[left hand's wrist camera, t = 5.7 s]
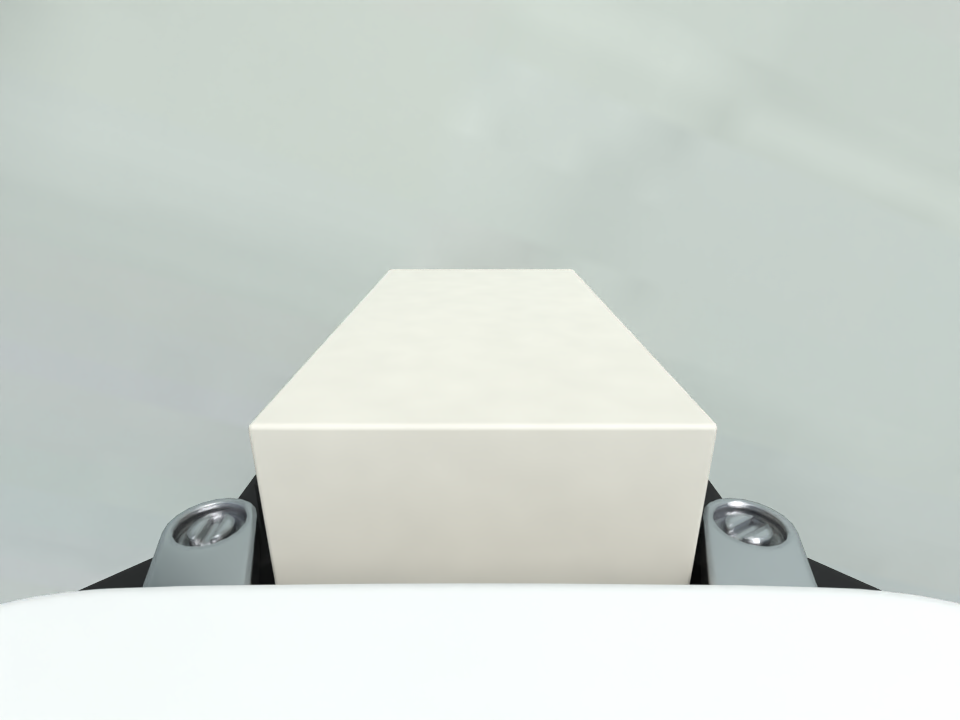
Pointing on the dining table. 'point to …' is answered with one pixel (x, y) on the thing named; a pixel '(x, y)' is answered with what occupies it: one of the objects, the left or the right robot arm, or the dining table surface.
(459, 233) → the dining table surface
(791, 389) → the dining table surface
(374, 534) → the brick
